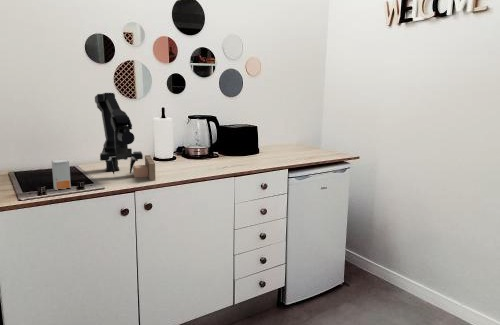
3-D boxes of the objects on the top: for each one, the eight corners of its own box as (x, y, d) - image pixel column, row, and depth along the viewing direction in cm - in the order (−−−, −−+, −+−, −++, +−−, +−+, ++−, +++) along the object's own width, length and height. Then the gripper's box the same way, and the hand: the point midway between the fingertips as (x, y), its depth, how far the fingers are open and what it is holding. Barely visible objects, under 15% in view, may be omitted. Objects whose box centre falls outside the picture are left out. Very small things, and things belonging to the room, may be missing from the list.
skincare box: (55, 191, 149) (52, 162, 146) (53, 188, 152) (51, 160, 149) (71, 188, 152) (69, 160, 150) (69, 186, 155) (67, 159, 153)
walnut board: (145, 170, 187) (144, 155, 185) (150, 170, 188) (149, 155, 186) (149, 180, 168) (149, 163, 166) (155, 180, 168) (154, 163, 167)
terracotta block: (133, 174, 178) (133, 165, 177) (146, 173, 181) (145, 164, 180) (135, 177, 173) (134, 168, 172) (148, 176, 175) (147, 167, 174)
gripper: (99, 144, 159) (100, 178, 163) (143, 143, 166) (144, 176, 169) (99, 140, 170) (101, 173, 173) (141, 139, 176) (142, 171, 179)
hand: (122, 173), depth 173 cm, fingers open, 7 cm apart
